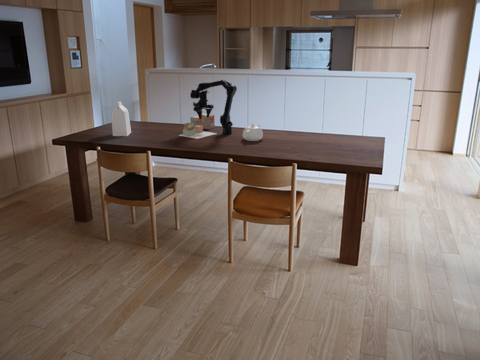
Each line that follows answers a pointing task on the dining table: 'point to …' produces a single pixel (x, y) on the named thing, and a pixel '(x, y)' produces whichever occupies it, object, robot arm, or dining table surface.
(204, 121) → the stack of blocks
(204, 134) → the board
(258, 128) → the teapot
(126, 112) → the milk
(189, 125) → the beech cube
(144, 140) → the dining table surface
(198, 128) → the terracotta cube
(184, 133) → the pedestal
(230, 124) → the robot arm
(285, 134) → the dining table surface
